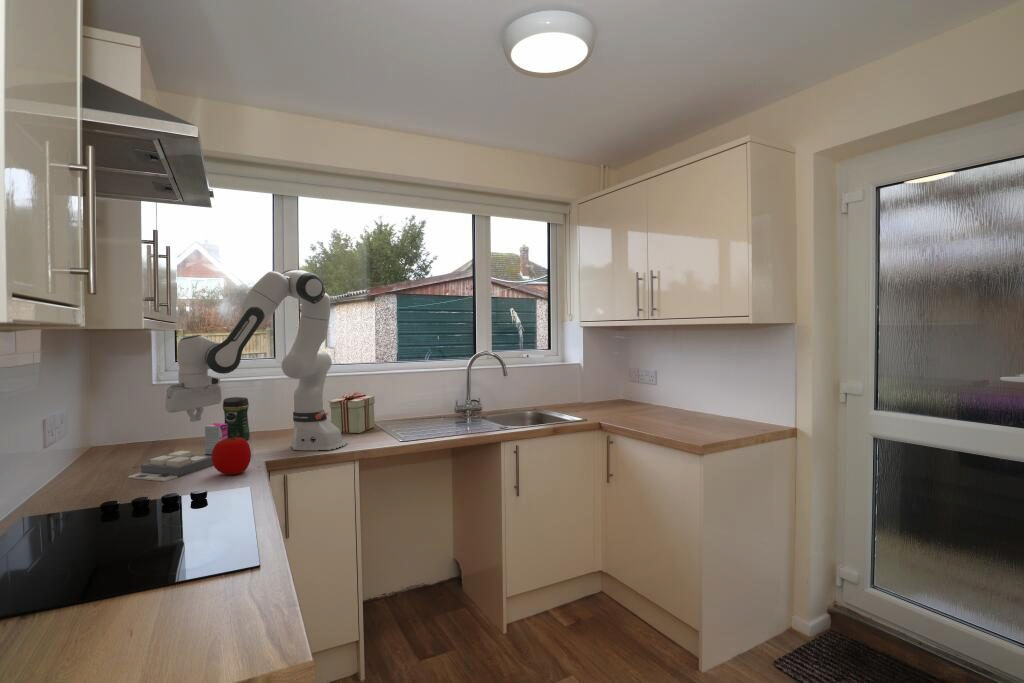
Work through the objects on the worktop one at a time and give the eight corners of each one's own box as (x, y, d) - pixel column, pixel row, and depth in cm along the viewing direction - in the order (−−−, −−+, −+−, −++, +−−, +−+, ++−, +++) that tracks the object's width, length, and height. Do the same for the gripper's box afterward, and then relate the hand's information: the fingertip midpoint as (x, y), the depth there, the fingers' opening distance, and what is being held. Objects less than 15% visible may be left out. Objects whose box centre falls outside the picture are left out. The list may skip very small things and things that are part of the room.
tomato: (260, 470, 179) (259, 434, 178) (231, 480, 168) (230, 441, 167) (232, 467, 183) (231, 431, 183) (203, 476, 172) (202, 439, 172)
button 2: (191, 464, 179) (190, 457, 178) (178, 468, 174) (178, 461, 174) (179, 463, 180) (179, 456, 180) (166, 467, 175) (166, 460, 175)
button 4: (208, 463, 185) (207, 456, 185) (196, 467, 181) (196, 460, 180) (196, 462, 187) (196, 455, 187) (184, 466, 182) (184, 459, 182)
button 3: (192, 458, 187) (191, 451, 187) (179, 461, 182) (179, 455, 182) (180, 457, 188) (180, 450, 188) (168, 460, 184) (168, 454, 184)
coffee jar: (253, 438, 228) (251, 396, 227) (242, 442, 220) (240, 398, 219) (232, 437, 229) (230, 395, 228) (220, 442, 221) (219, 398, 220)
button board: (216, 464, 187) (215, 456, 187) (165, 481, 167) (165, 472, 167) (181, 461, 191) (181, 453, 191) (127, 477, 171) (127, 468, 171)
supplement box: (219, 456, 198) (218, 426, 198) (204, 455, 199) (203, 426, 198) (228, 452, 204) (227, 423, 204) (214, 451, 205) (213, 422, 204)
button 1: (174, 463, 180) (174, 456, 180) (161, 467, 176) (161, 460, 175) (163, 462, 182) (163, 455, 182) (150, 466, 177) (149, 459, 177)
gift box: (340, 425, 254) (339, 390, 253) (376, 427, 251) (375, 391, 250) (322, 433, 237) (321, 395, 236) (360, 434, 234) (359, 396, 233)
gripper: (174, 385, 172) (176, 427, 172) (223, 378, 191) (225, 415, 192) (159, 385, 173) (161, 426, 174) (209, 378, 193) (211, 415, 194)
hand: (195, 421), depth 183 cm, fingers closed
